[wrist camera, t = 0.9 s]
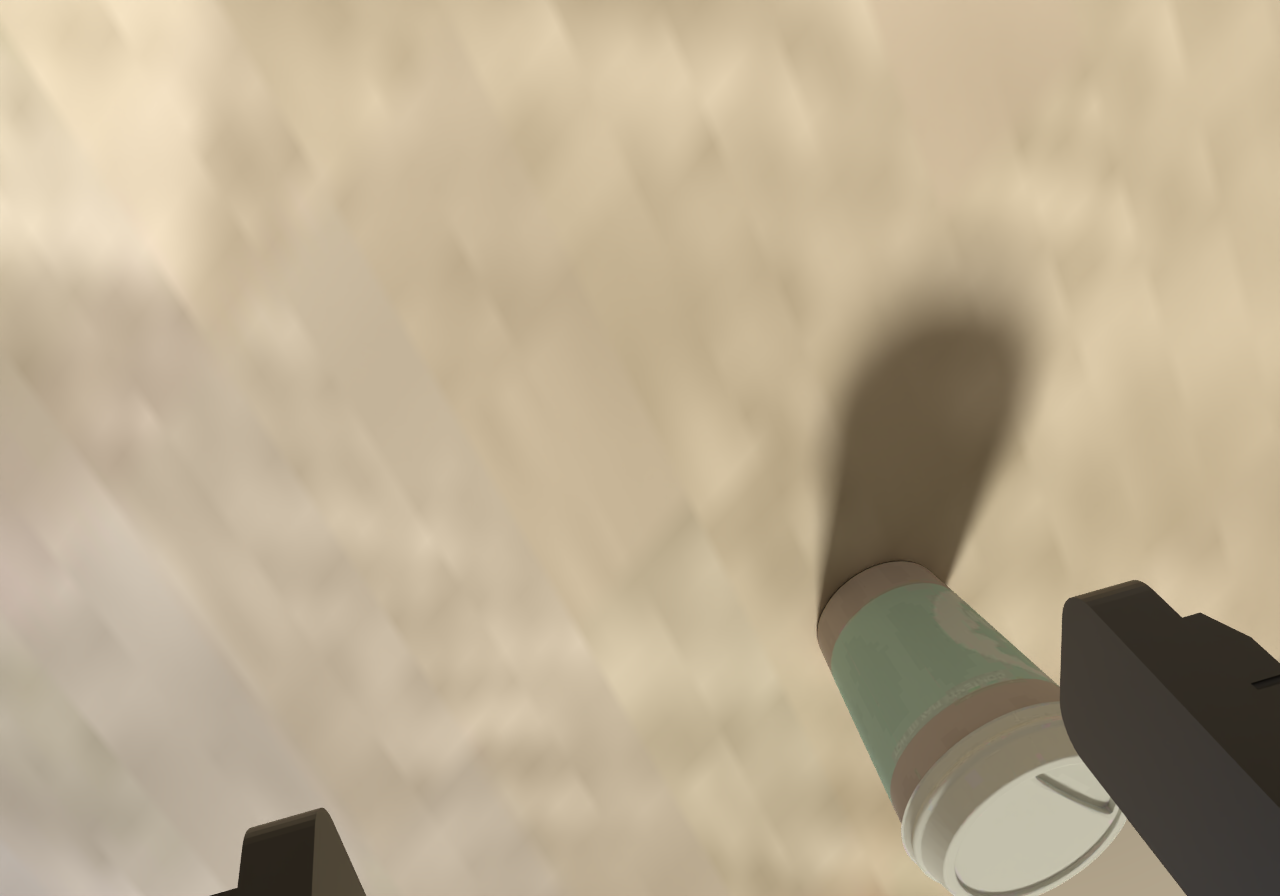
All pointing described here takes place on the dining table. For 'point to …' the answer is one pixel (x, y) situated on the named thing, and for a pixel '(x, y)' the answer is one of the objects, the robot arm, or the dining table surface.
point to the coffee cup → (963, 737)
